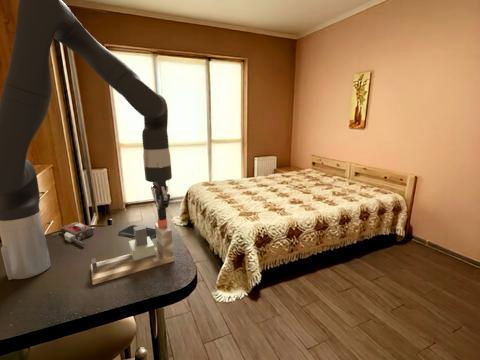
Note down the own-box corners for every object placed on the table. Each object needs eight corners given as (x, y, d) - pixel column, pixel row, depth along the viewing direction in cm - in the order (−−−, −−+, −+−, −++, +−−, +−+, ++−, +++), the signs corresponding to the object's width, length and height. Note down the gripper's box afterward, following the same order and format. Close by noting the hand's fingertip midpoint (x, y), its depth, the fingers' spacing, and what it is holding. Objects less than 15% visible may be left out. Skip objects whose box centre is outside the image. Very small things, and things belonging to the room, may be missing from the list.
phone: (148, 239, 92) (117, 232, 97) (148, 241, 92) (117, 235, 98) (162, 230, 99) (132, 224, 104) (162, 232, 99) (132, 227, 105)
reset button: (159, 229, 78) (158, 221, 77) (157, 225, 80) (156, 218, 79) (168, 226, 79) (168, 219, 78) (166, 223, 81) (165, 216, 81)
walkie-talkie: (54, 235, 98) (81, 249, 87) (52, 224, 97) (79, 237, 86) (78, 227, 105) (106, 239, 94) (77, 217, 104) (104, 228, 93)
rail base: (92, 284, 68) (87, 250, 65) (91, 268, 75) (86, 237, 73) (174, 260, 79) (172, 230, 77) (166, 248, 86) (163, 221, 84)
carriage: (133, 260, 73) (130, 234, 71) (129, 249, 79) (126, 225, 77) (155, 254, 76) (152, 229, 74) (149, 245, 82) (147, 221, 80)
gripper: (139, 162, 79) (145, 215, 83) (149, 168, 68) (155, 229, 72) (164, 159, 82) (168, 210, 86) (177, 166, 71) (181, 223, 75)
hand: (162, 219), depth 79 cm, fingers closed
